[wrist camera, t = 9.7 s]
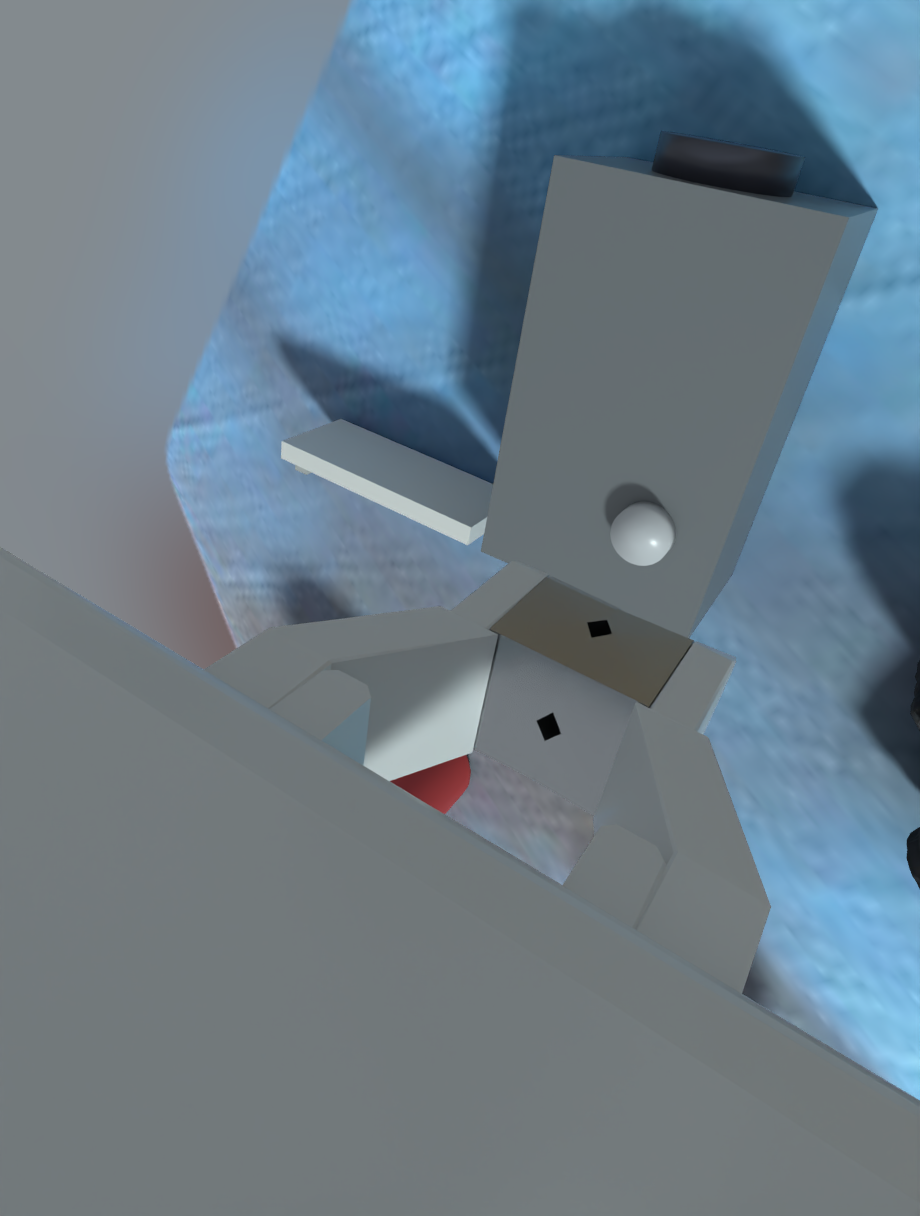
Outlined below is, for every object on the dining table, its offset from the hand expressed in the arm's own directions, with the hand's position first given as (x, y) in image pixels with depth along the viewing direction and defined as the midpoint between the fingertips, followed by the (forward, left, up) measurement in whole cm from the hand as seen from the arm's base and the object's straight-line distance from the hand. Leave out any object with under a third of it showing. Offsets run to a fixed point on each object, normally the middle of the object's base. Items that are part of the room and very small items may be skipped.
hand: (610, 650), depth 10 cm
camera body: (+4, -7, -27) cm, 29 cm away
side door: (+13, -19, -27) cm, 35 cm away
